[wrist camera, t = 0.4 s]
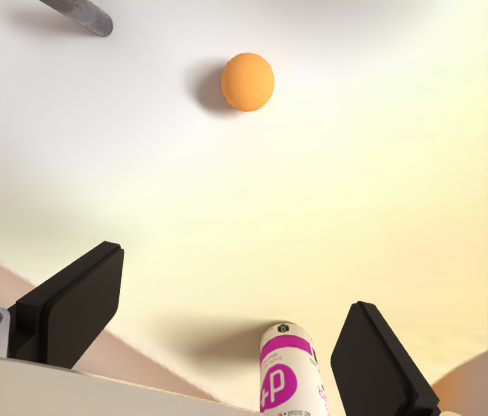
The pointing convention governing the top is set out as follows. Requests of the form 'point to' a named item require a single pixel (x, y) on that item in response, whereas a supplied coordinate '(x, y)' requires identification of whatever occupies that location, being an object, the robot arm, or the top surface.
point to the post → (84, 14)
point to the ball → (247, 82)
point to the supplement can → (290, 374)
